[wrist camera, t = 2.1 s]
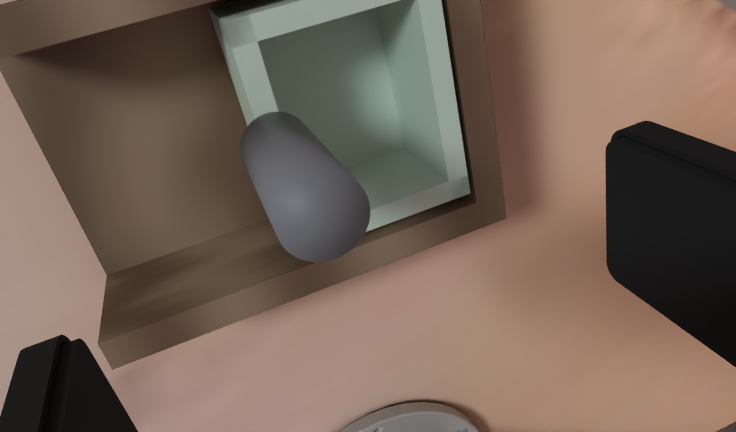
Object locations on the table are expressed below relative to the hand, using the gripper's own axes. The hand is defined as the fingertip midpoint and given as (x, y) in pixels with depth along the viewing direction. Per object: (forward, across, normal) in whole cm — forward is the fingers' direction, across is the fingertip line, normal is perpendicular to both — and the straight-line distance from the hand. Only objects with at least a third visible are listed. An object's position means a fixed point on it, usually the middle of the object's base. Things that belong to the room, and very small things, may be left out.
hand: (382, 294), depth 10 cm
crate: (+16, -3, +1) cm, 16 cm away
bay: (+16, 0, +1) cm, 17 cm away
